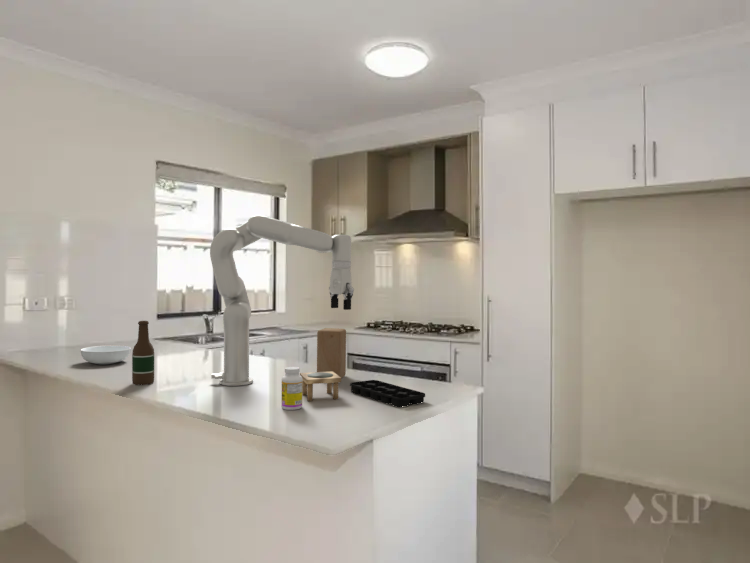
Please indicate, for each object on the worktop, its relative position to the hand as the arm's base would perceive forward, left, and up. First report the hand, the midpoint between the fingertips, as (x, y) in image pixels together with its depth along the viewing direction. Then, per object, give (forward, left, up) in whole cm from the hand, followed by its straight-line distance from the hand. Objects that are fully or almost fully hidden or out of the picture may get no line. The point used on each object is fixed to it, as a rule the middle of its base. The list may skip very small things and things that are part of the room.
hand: (340, 308), depth 212 cm
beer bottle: (-74, +16, -29) cm, 81 cm away
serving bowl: (-94, +68, -29) cm, 120 cm away
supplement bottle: (-26, -36, -29) cm, 53 cm away
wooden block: (-2, +7, -29) cm, 30 cm away
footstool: (-14, -23, -29) cm, 40 cm away
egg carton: (+8, -30, -30) cm, 43 cm away
